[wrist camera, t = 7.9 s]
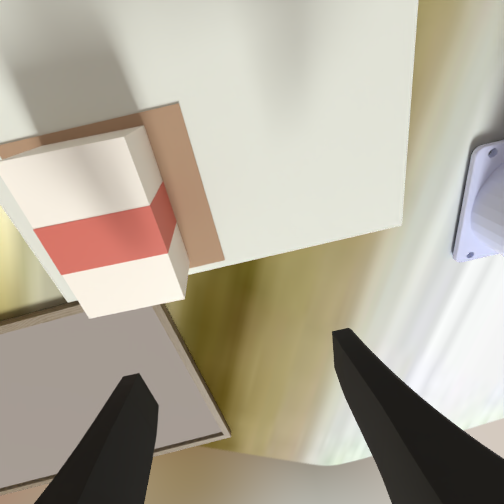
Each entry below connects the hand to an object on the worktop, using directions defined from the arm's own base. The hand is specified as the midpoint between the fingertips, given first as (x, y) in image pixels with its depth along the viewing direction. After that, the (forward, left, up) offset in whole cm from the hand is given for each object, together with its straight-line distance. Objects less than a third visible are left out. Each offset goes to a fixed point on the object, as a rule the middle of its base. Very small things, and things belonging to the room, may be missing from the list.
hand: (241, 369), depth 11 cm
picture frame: (+19, +11, -10) cm, 24 cm away
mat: (0, -8, -9) cm, 12 cm away
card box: (+5, -4, -9) cm, 11 cm away
